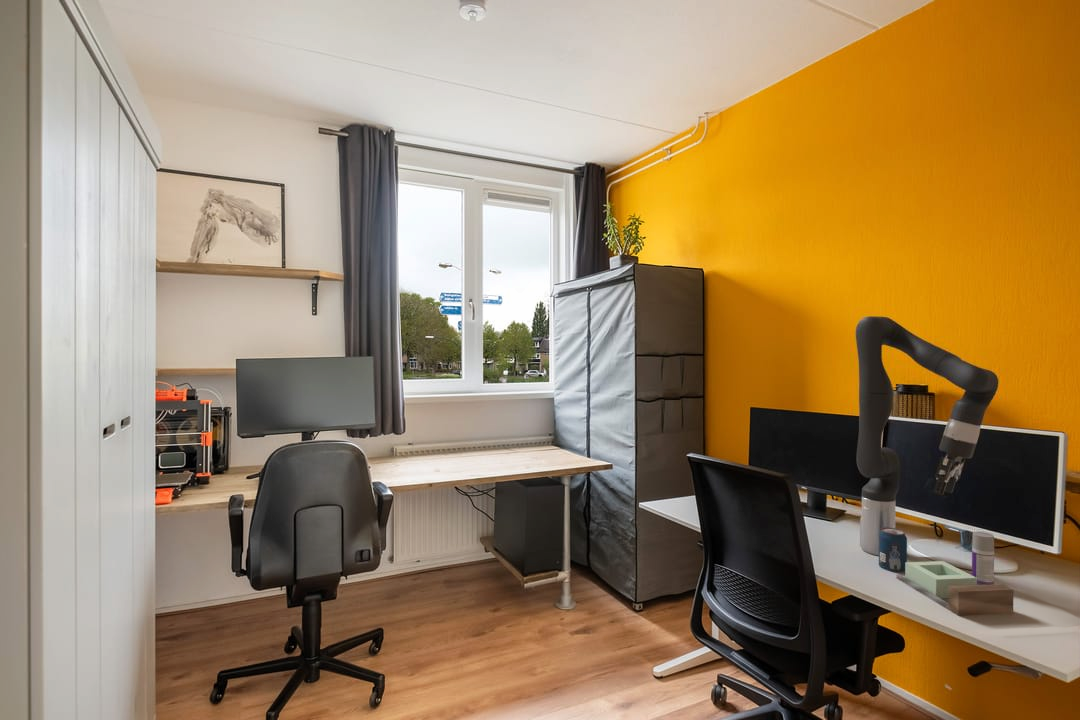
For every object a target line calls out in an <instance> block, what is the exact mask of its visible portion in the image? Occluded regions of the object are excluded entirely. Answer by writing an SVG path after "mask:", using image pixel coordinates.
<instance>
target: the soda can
mask: <svg viewBox="0 0 1080 720" xmlns="http://www.w3.org/2000/svg"><path fill="white" fill-rule="evenodd" d="M881 530H882V531H881V532H880V534H879V555H878V566H879V568H881V569H882V570H885V571H889V572H893V573H905V562H908V561H907V560H908V538H907V536H906V532H905V530H902V529H900V528H896V527H895V528H888V527H887V528H882V529H881Z"/></svg>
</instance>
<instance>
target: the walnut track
mask: <svg viewBox="0 0 1080 720" xmlns="http://www.w3.org/2000/svg"><path fill="white" fill-rule="evenodd" d="M895 576H896V578H895V579H897V580H898V581H901V582H902V583H903V584H904V585H907V586H908V587H910V588H911V589H913V590H914V591H916V592H918V593H920V594H922V595H923V596H925V597H926V598H928V599H930V600H931V601H933V602H935V603H936V604H938V605H940V606H941V607H943V608H944V609H946V610H947V611H950V613H953V614H955V615H956V617H957V616H958V617H965V616H989V615H990V616H991V615H992V616H993V615H1011V614H1012V615H1013V614H1014V596H1015V593H1014V588H1011V587H1009V586H1007V585H1005V584H1004V583H1001V584H998V583H996V584H993V585H967V586H949V595H948V598H947V600H948V602H947V601H945V600H944V599H943V598H939V597H937V596H935V595H934V594H932V593H930V592H929V591H927V590H925V589H924V588H922V587H920V586H919V585H917V584H915V583H913V582H912V581H910V580H908V579H907V578H905V576H904V575H901V574H896V575H895Z"/></svg>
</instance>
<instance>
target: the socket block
mask: <svg viewBox="0 0 1080 720" xmlns="http://www.w3.org/2000/svg"><path fill="white" fill-rule="evenodd" d="M904 573H905V574H904V577H905V578H907V579H908V580H910V581H912V582H913V583H915V584H917V585H919V586H920V587H922V588H924V589H925V590H927V591H929V592H930V593H932V594H934V595H935V596H937V597H939V598H940V599H948V595H949V586H967V585H977V578H976V577H974V576H972V574H970V573H968V572H966V571H964V570H962V569H960V568H958V567H955V566H954V565H952V564H950V563H948V562H947V561H944V560H938V561H937V560H936V561H935V560H932V561H911V562H908V561H907V562H905V572H904Z"/></svg>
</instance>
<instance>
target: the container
mask: <svg viewBox="0 0 1080 720" xmlns="http://www.w3.org/2000/svg"><path fill="white" fill-rule="evenodd" d="M994 536H995V535H994V534H991V533H989V532H984V531H973V532H972V541H971V542H972V545H971V547H972V548H971V575H972V576H974V577H976V578H977V585H993V584H994V583H995V537H994Z"/></svg>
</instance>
